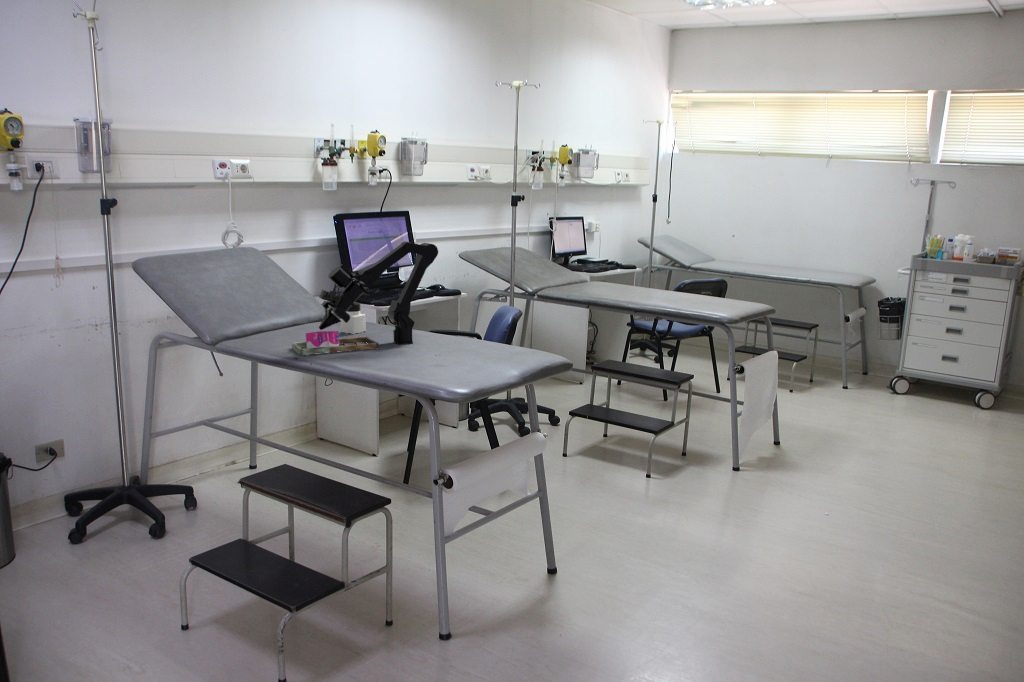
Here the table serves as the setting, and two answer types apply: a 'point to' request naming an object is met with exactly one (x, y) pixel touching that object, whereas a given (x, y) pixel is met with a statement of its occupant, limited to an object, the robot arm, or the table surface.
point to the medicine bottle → (354, 320)
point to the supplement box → (322, 339)
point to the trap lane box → (346, 341)
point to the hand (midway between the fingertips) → (319, 329)
